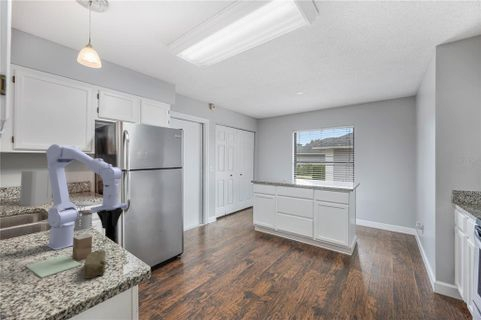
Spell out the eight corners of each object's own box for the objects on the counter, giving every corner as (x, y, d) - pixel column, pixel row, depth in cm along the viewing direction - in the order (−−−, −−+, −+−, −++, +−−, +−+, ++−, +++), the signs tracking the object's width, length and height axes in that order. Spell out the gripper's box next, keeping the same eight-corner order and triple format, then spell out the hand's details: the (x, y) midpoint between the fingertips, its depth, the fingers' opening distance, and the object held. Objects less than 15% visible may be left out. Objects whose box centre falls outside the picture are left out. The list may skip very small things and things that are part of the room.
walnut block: (72, 258, 83) (73, 236, 83) (85, 254, 87) (86, 233, 87) (77, 261, 81) (78, 238, 81) (91, 257, 84) (92, 235, 85)
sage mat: (26, 266, 75) (26, 265, 75) (64, 255, 85) (64, 254, 85) (41, 278, 68) (41, 277, 68) (81, 265, 77) (81, 264, 77)
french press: (76, 233, 112) (79, 184, 113) (67, 229, 118) (69, 183, 119) (97, 228, 120) (99, 183, 121) (87, 225, 126) (89, 182, 127)
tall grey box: (15, 207, 168) (17, 171, 168) (21, 204, 180) (22, 170, 181) (48, 205, 179) (50, 171, 179) (51, 202, 191) (52, 170, 192)
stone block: (105, 262, 80) (105, 249, 81) (104, 276, 71) (105, 261, 71) (86, 265, 77) (86, 251, 78) (83, 281, 68) (83, 265, 68)
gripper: (97, 198, 85) (95, 233, 84) (132, 194, 97) (131, 224, 97) (88, 196, 88) (87, 229, 88) (123, 193, 101) (122, 222, 100)
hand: (109, 227), depth 92 cm, fingers open, 3 cm apart
